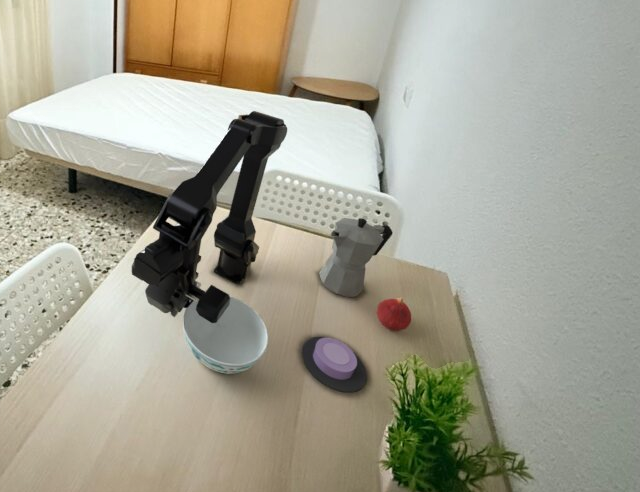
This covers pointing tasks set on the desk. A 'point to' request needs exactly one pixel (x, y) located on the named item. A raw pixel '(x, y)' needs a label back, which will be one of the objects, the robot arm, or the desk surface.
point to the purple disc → (334, 358)
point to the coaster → (340, 385)
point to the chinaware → (226, 337)
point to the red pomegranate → (394, 314)
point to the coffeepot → (352, 254)
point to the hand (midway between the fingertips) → (174, 315)
